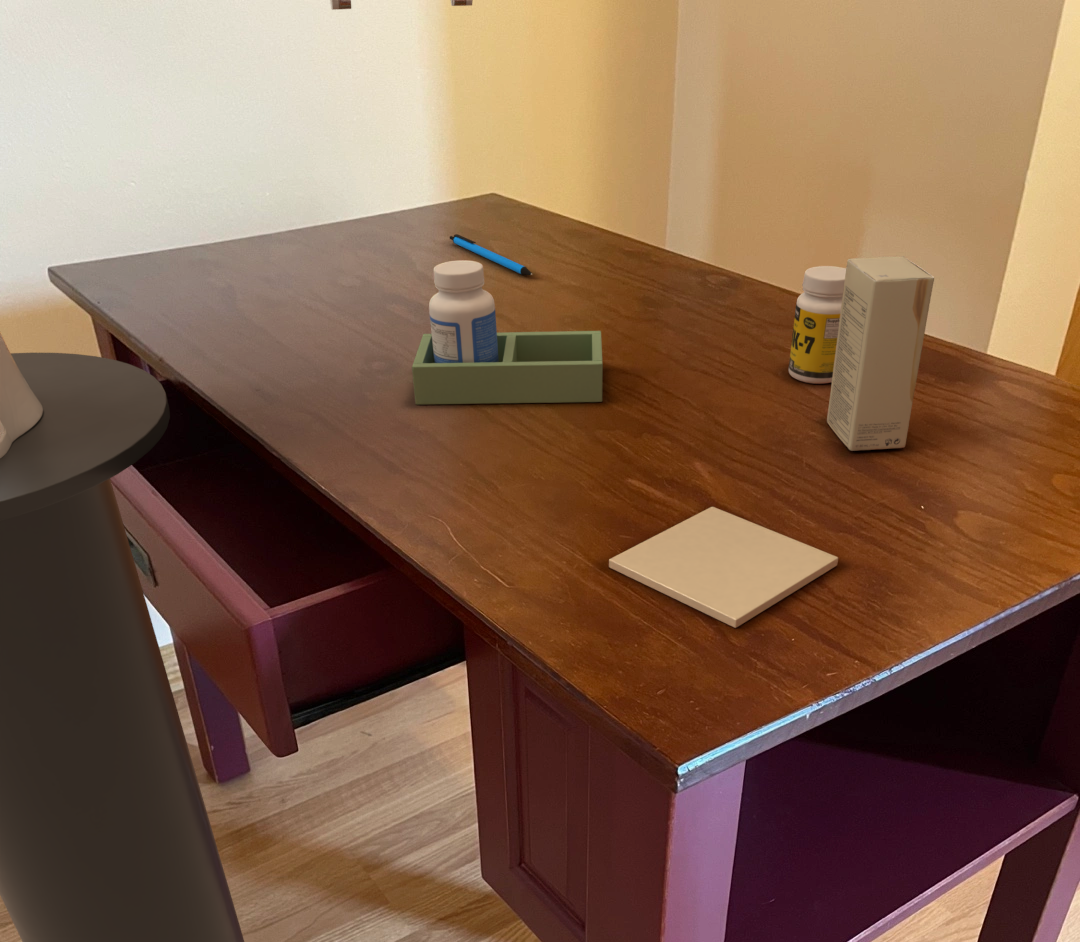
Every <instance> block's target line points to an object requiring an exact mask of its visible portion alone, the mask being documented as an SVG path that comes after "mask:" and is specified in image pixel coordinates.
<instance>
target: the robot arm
mask: <svg viewBox="0 0 1080 942" xmlns="http://www.w3.org/2000/svg"><path fill="white" fill-rule="evenodd" d="M329 4H330V9H331V10H332V11H333V10H335V11H336V10H352V0H329ZM450 4H451V6H452V7H462V6H463V7H467V6H468V7H469V6H473V0H450ZM11 353H12V352H11V351H10V349H9V347H8V346H7V343H6V340H5V339H4V336H3V334H2V332H1V331H0V458H2V457H3V456H4V455H5V454H6V453H7V452H8V450H9V448H10V446H11V444H12V442H13V441H14V440H15V439H17V438H18V437H19V436H21V435H22V434H24V433H25V432H27V431H28V430H29V429H31V428H32V427H33V426H34V425H35V424H36V423H37V422H38V421H39V420H40V418H41V416H42V414H43V407H42V405H41V403H40V402H39V400H38V399H37V397H36V396H35V394H34V393H33V392H32V390H31V388H30V387H29V385H28V384H27V382H26V381H25V379H24V377H23V375H22V374H21V372H20V370H19V368H18V367H17V365H16V363H15V361H14V359H13V357H12V355H11Z"/></svg>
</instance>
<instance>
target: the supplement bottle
mask: <svg viewBox="0 0 1080 942" xmlns="http://www.w3.org/2000/svg"><path fill="white" fill-rule="evenodd" d="M803 274H804V275H803V280H802V285H801V286H802V291H803V292H802V293H801V294H800V295H798V297H797V299H796V304H795V309H794V310H795V311H794V319H793V327H792V335H791V343H790V344H791V345H790V352H789V353H790V354H789V361H788V373H789V376H791V377H792V378H793V379H795V380H797V381H800V382H803V383H806V384H815V385H822V384H823V385H824V384H832V377H833V369H834V361H835V353H836V345H837V337H838V329H839V321H840V314H841V306H842V298H843V290H844V282H845V274H846V267H841V266H835V265H818V266H817V265H816V266H812V267H809V268H807V269H806V270H805V271H804V273H803Z"/></svg>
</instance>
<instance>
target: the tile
mask: <svg viewBox="0 0 1080 942" xmlns="http://www.w3.org/2000/svg"><path fill="white" fill-rule="evenodd" d="M838 562H839V557H838V556H836V555H834V554H831V553H829V552H826V551H824V550H821V549H820V548H816V547H814V546H812V545H809V544H807V543H804V542H802V541H800V540H797V539H794V538H791V537H790V536H787V535H784V534H782V533H780V532H777V531H774V530H772V529H769V528H767V527H764V526H762V525H760V524H758V523H754V522H752V521H750V520H747V519H745V518H742V517H740V516H738V515H735V514H733V513H730V512H727V511H725V510H722V509H719V508H717V507H715V506H710V507H708V508H706V509H705V510H702V511H701V512H698V513H696V514H695V515H692V516H691V517H688V518H687V519H685V520H683V521H680V522H679V523H677V524H675V525H673V526H671V527H669V528H667V529H665V530H663V531H661V532H660V533H657V534H655V535H653V536H652V537H649V538H647V539H645V540H644V541H642V542H640V543H638V544H636V545H634V546H632V547H631V548H627V550H625V551H623V552H620V553H619V554H616V555H615V556H613V557H611V558H609V559H608V568H610V569H612V570H614V571H616V572H618V573H620V574H622V575H624V576H626V577H628V578H630V579H632V580H634V581H636V582H638V583H640V584H643V585H645V586H647V587H649V588H651V589H653V590H655V591H657V592H659V593H661V594H663V595H665V596H667V597H670V598H672V599H674V600H676V601H678V602H680V603H682V604H684V605H687V606H688V607H690V608H693V609H694V610H697V611H698V612H701V613H703V614H705V615H707V616H709V617H711V618H713V619H715V620H718V621H719V622H722V623H724V624H726V625H728V626H730V627H732V628H735V629H737V628H738V627H740V626H742V625H743V624H744V623H746V622H748V621H749V620H751V619H753V618H754V617H756V616H758V615H759V614H761V613H763V612H764V611H766V610H767V609H770V608H771V607H773V606H774V605H776V604H777V603H779V602H780V601H782V600H784V599H785V598H787V597H789V596H790V595H792V594H793V593H795V592H796V591H798V590H800V589H801V588H803V587H804V586H806V585H808V584H809V583H811V582H813V581H814V580H816V579H817V578H820V577H821V576H822V575H824V574H826V573H827V572H829V571H830V570H832V569H834V568H835V567H837V566H838Z"/></svg>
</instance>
